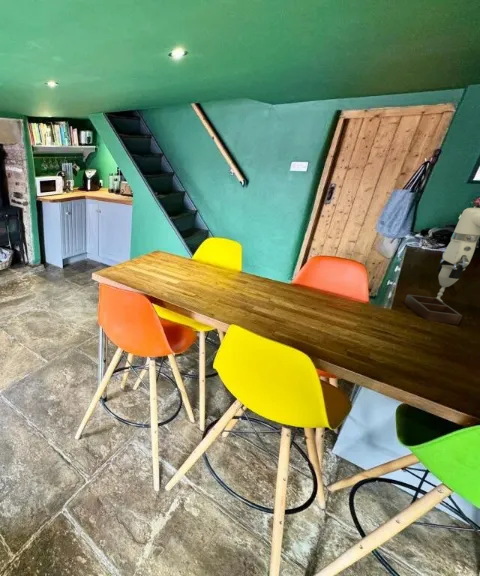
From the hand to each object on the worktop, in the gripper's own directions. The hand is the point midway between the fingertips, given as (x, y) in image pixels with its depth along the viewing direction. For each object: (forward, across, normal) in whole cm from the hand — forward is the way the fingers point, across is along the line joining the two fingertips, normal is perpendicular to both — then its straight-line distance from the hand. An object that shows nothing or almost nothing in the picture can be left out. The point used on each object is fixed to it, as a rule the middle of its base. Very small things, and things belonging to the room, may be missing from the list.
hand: (447, 274), depth 136 cm
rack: (+14, -16, +8) cm, 23 cm away
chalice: (+14, 0, 0) cm, 15 cm away
